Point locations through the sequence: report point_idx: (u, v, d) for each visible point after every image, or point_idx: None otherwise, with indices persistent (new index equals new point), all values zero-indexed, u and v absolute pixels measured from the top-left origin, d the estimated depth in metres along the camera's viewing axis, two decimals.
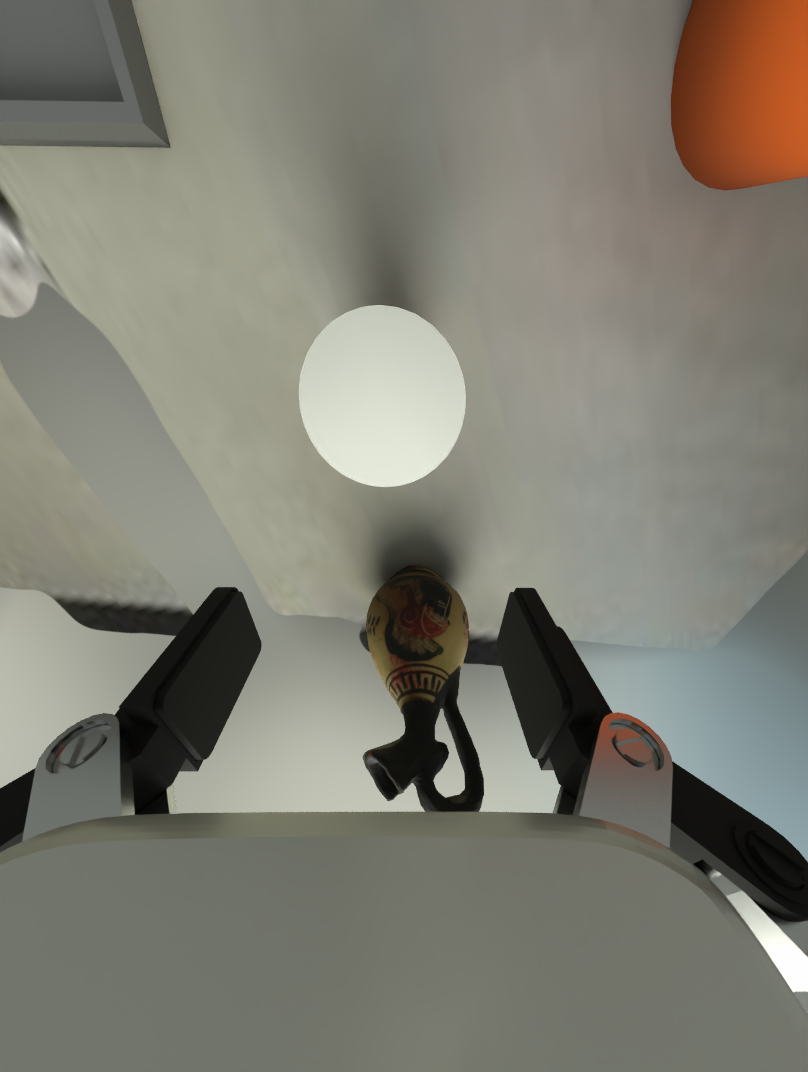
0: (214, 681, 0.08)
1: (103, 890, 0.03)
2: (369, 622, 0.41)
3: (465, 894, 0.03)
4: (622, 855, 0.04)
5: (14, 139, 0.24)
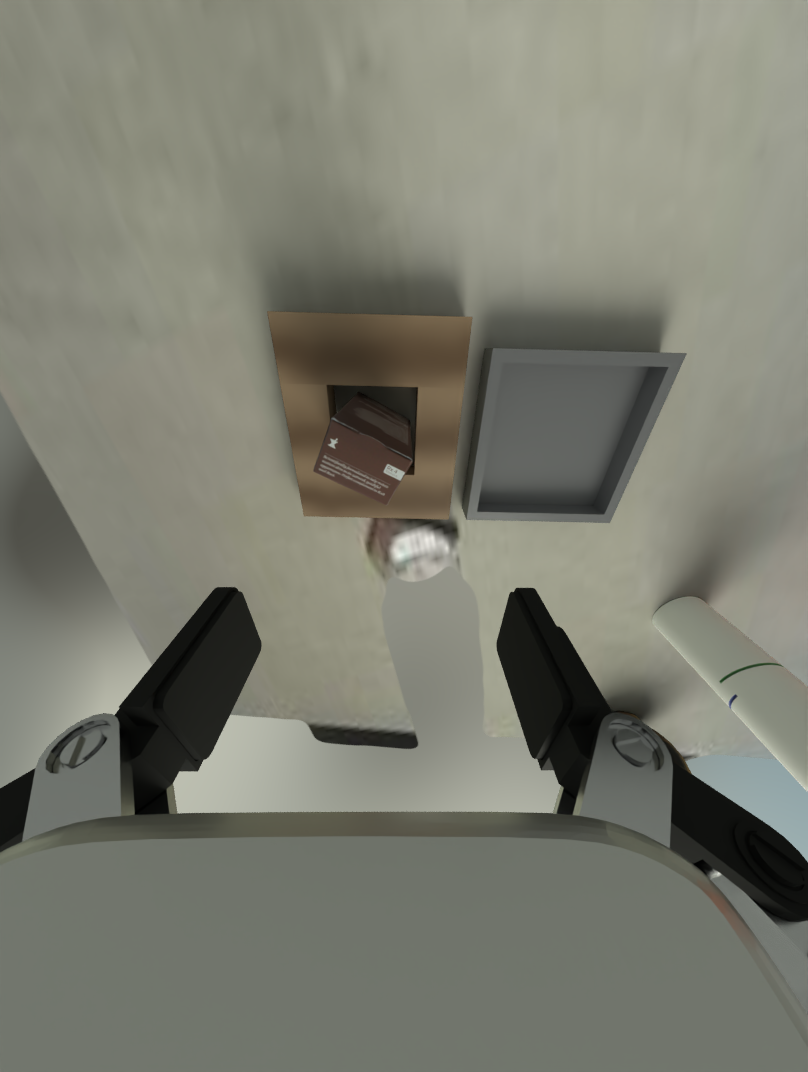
0: (214, 681, 0.08)
1: (103, 890, 0.03)
2: None
3: (466, 894, 0.03)
4: (622, 855, 0.04)
5: None
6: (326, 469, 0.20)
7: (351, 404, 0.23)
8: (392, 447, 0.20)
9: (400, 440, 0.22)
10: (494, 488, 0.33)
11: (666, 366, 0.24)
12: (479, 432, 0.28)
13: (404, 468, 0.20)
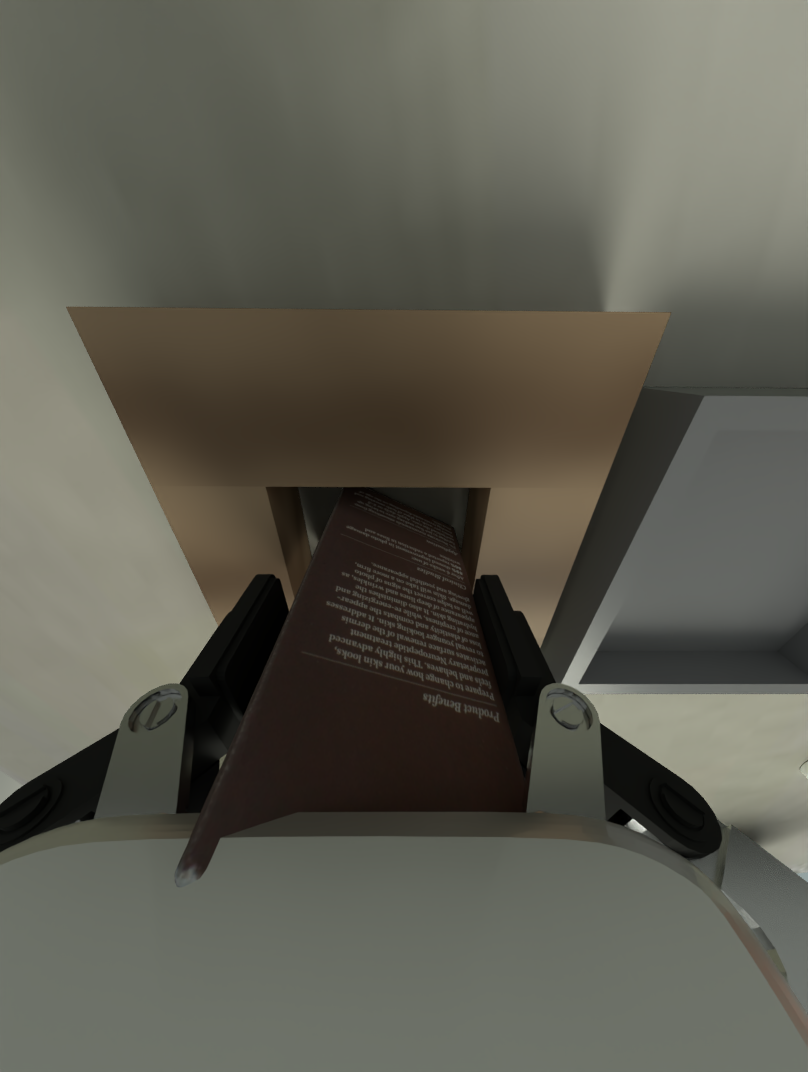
0: (260, 660, 0.09)
1: (103, 890, 0.03)
2: None
3: (466, 894, 0.03)
4: (622, 855, 0.04)
5: None
6: None
7: (322, 570, 0.08)
8: None
9: (476, 713, 0.07)
10: None
11: None
12: (613, 566, 0.13)
13: None
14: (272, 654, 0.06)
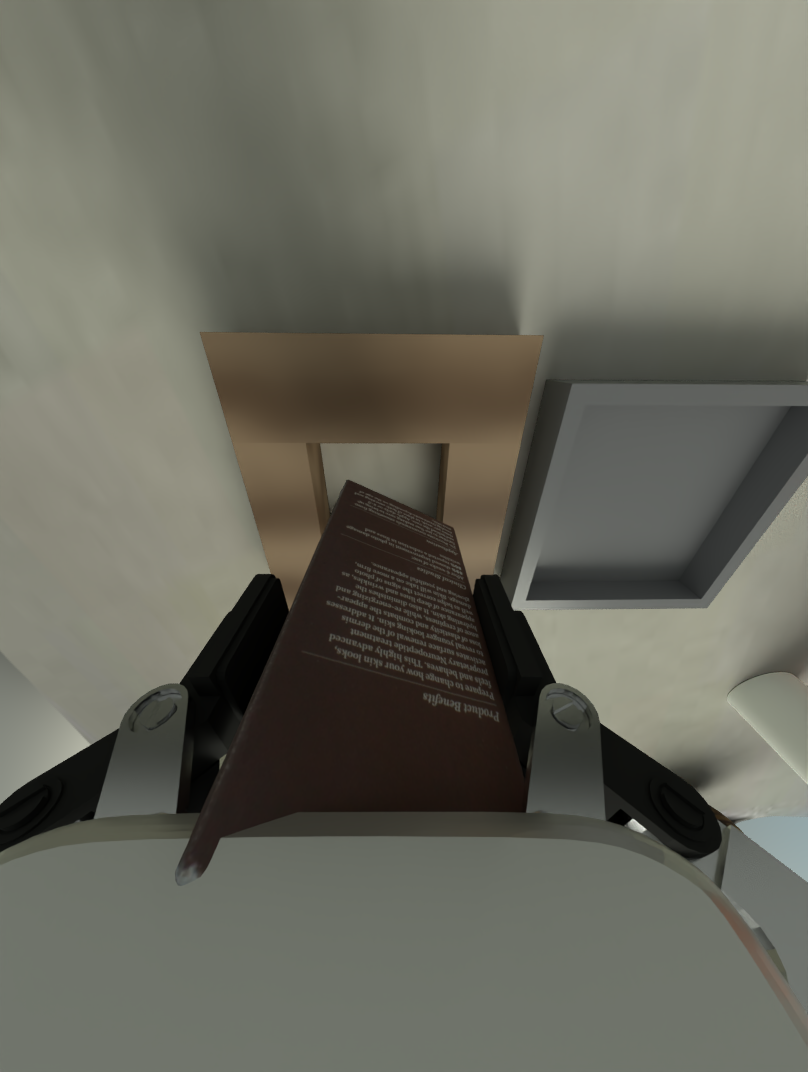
0: (260, 660, 0.09)
1: (103, 890, 0.03)
2: None
3: (466, 893, 0.03)
4: (622, 855, 0.04)
5: None
6: None
7: (322, 570, 0.08)
8: None
9: (476, 712, 0.07)
10: (546, 564, 0.24)
11: None
12: (537, 502, 0.19)
13: None
14: (272, 653, 0.06)
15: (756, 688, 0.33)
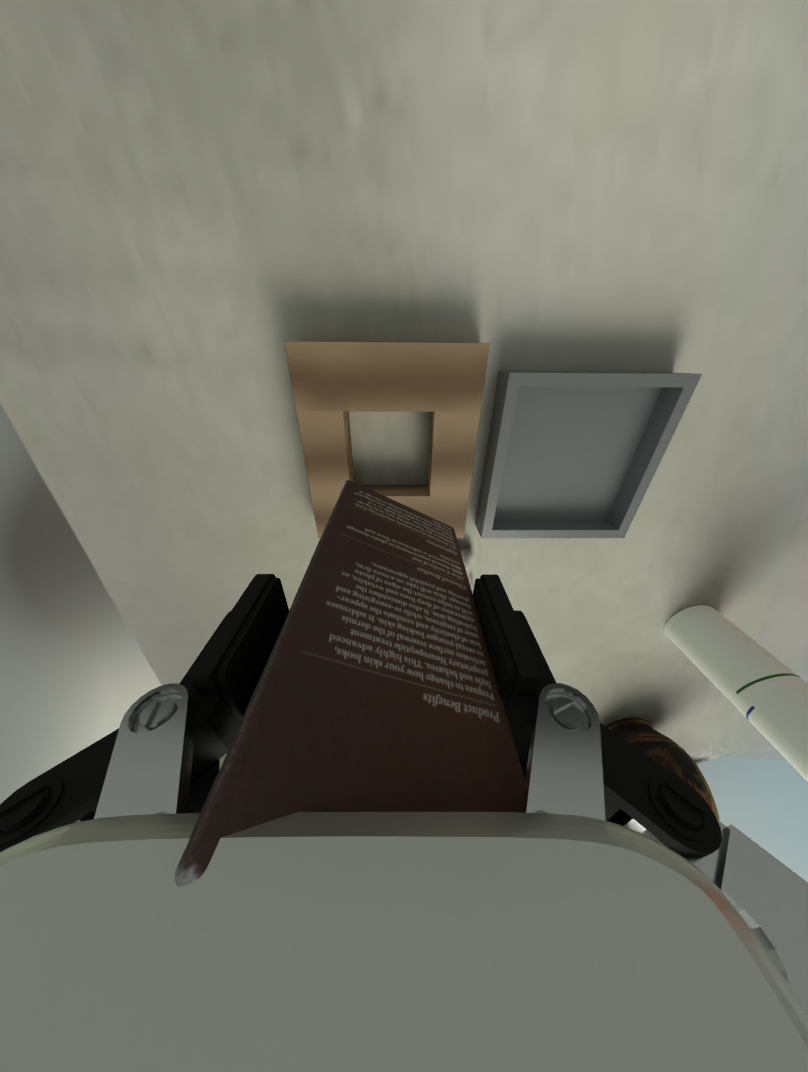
0: (260, 660, 0.09)
1: (103, 890, 0.03)
2: None
3: (466, 893, 0.03)
4: (622, 855, 0.04)
5: None
6: None
7: (322, 570, 0.08)
8: None
9: (476, 713, 0.07)
10: (508, 506, 0.33)
11: (681, 387, 0.25)
12: (495, 453, 0.28)
13: None
14: (272, 654, 0.06)
15: (682, 617, 0.42)
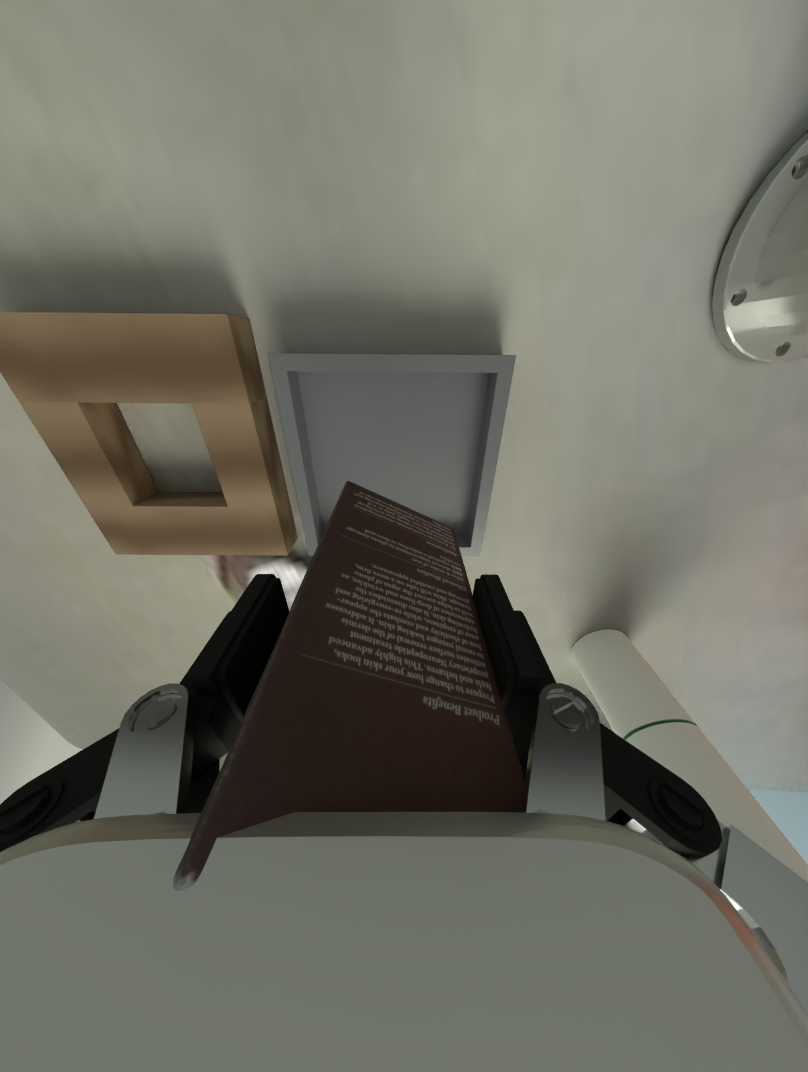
0: (260, 660, 0.09)
1: (103, 890, 0.03)
2: None
3: (466, 893, 0.03)
4: (622, 855, 0.04)
5: None
6: None
7: (321, 572, 0.08)
8: None
9: (477, 715, 0.07)
10: None
11: (495, 372, 0.19)
12: None
13: None
14: (271, 657, 0.06)
15: (586, 643, 0.37)
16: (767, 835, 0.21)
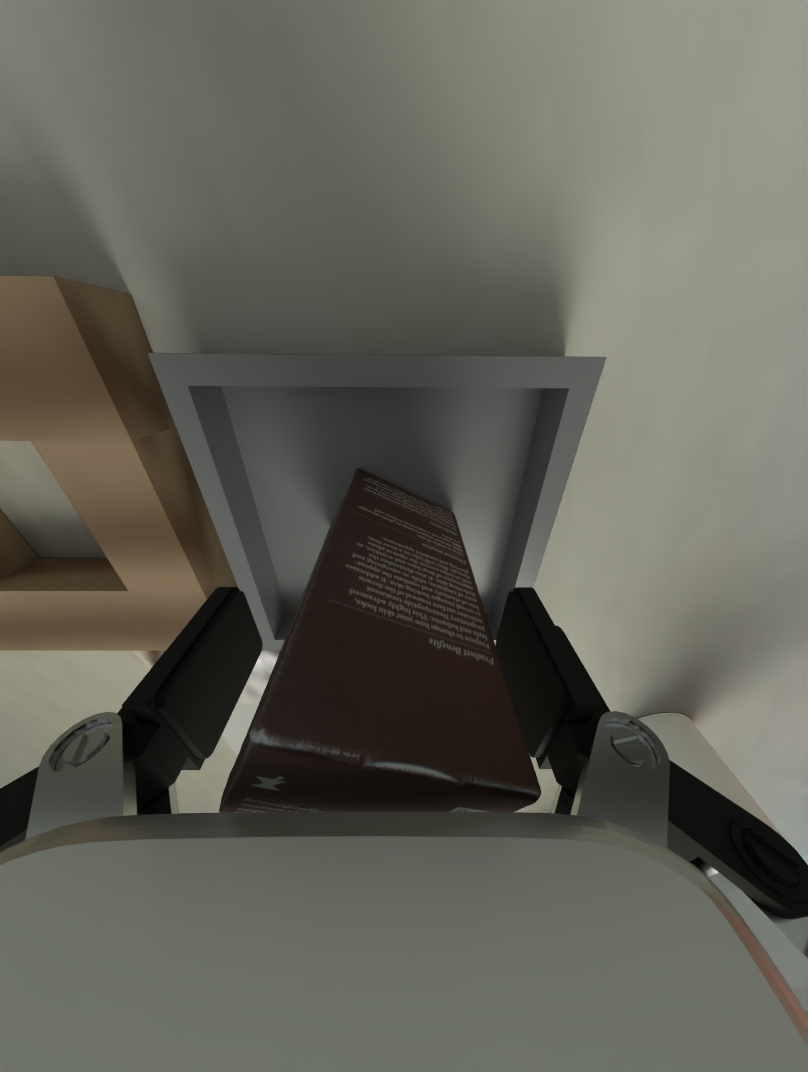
0: (216, 680, 0.08)
1: (103, 890, 0.03)
2: None
3: (466, 893, 0.03)
4: (622, 855, 0.04)
5: None
6: (259, 812, 0.06)
7: (340, 540, 0.09)
8: (477, 760, 0.06)
9: (474, 656, 0.08)
10: None
11: (564, 387, 0.11)
12: None
13: (512, 809, 0.06)
14: (304, 600, 0.07)
15: None
16: None
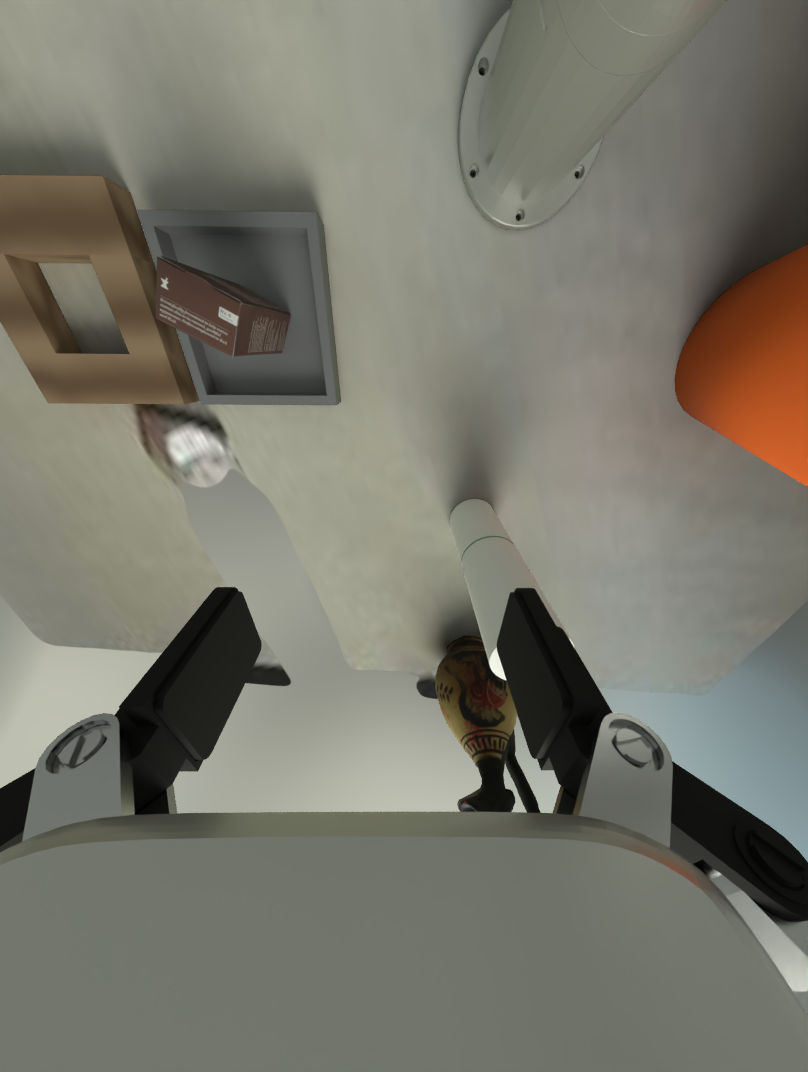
0: (214, 681, 0.08)
1: (103, 890, 0.03)
2: (441, 689, 0.54)
3: (465, 893, 0.03)
4: (622, 855, 0.04)
5: None
6: (166, 314, 0.22)
7: (206, 273, 0.25)
8: (222, 289, 0.22)
9: (244, 298, 0.24)
10: (229, 375, 0.35)
11: (305, 227, 0.27)
12: None
13: (236, 311, 0.22)
14: (183, 264, 0.23)
15: (456, 510, 0.44)
16: (518, 578, 0.28)
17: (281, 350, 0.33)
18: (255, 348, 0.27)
